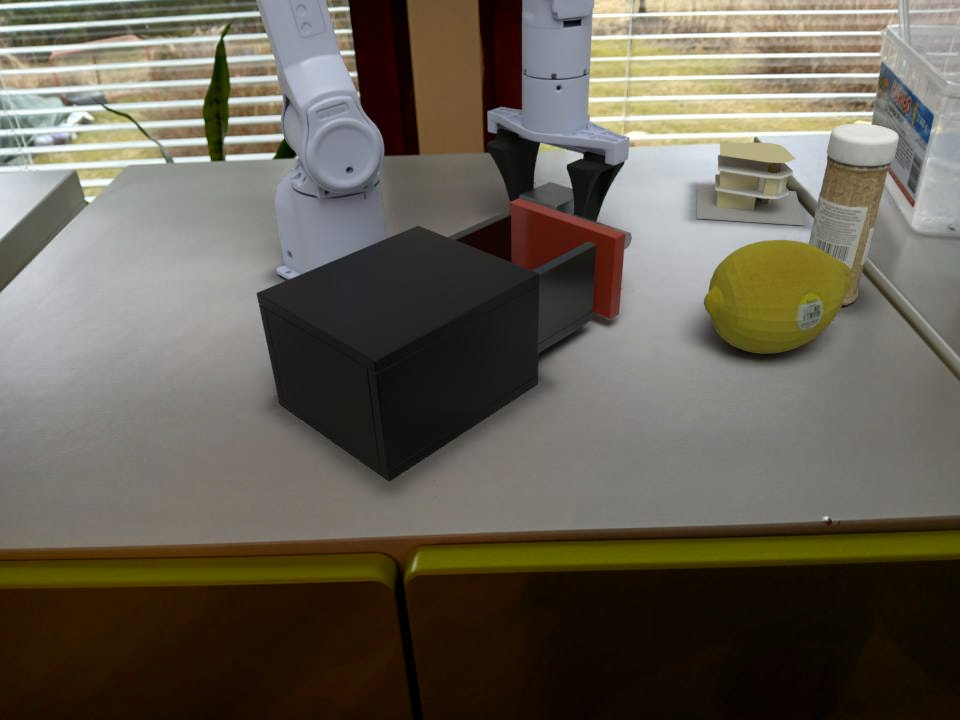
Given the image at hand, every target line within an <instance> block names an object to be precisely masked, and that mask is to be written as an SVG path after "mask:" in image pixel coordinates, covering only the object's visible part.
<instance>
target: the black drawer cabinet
mask: <svg viewBox="0 0 960 720" xmlns="http://www.w3.org/2000/svg"><path fill="white" fill-rule="evenodd" d="M448 237H449V236H445V235H443V234H440V233H438V232H436V231H433V230H431V229H428V228H425V227H423V226H420V225H415V226H413V227H411V228H409V229H406V230H404V231H402V232H399V233H396V234H394V235H392V236H389V237H387V239H385V240H382V241H380V242H377V243H375V244H373V245H370V246H368V247H365V248H363V249H361V250H358V251H356V252H353V253H351V254H349V255H346V256H344V257H341V258H339V259H337V260H334V261H332V262H329V263H327V264H325V265H322V266H320V267H318V268H315V269H313V270H310V271H308V272H306V273H303V274H301V275H298V276H296V277H294V278H291V279H289V280H288V279H286V280H284V281H281V282H279V283H277V284H274V285H272V286H270V287H267V288H265V289H262V290H260V291H258V292H256V298H257V303H258V307H259V313H260V317H261V322H262V327H263V331H264V336H265V340H266V341H265V342H266V346H267V352H268V356H269V361H270V364H271V370H272V375H273V380H274V385H275V391H276V394H277V400H278V404H279V405H280V406H282V407H283V408H285V409H286V410H288V411H289V412H290V413H292V414H293V415H295V416H296V417H298V418H299V419H300V420H301V421H303V422H304V423H306V424H307V425H309V427H312V428H313V429H314V430H316V431H318V432H319V433H320V434H321V435H323V436H325V437H326V438H327V439H329V440H330V441H332V442H333V443H335V444H336V445H337V446H339V447H340V448H341V449H343V450H344V451H346V452H347V453H348V454H350V455H351V456H353V457H354V458H356V459H357V460H358V461H360V462H362V463H363V464H364V465H366V466H367V467H369V468H370V469H371V470H372V471H374V472H376V473H377V474H379V475H380V476H381V477H383V478H384V479H385V480H387V481H389V482H390V481H392V480H393V479H395V478H396V477H398V476H399V475H401V474H403V473H404V472H405V471H407V470H408V469H410V468H412V467H413V466H414V465H416V464H418V463H419V462H420V461H423V460H424V459H425V458H427V457H428V456H430V455H432V454H433V453H434V452H436V451H437V450H439V449H441V448H442V447H443V446H446V445H447V444H448V443H450V442H451V441H453V440H454V439H456V438H457V437H459V436H461V435H462V434H464V433H465V432H467V431H468V430H470V429H471V428H472V427H474V426H476V425H478V423H480V422H481V421H483V420H486V419H487V418H488V417H490V416H491V415H492V414H494V413H496V412H497V411H498V410H500V409H502V408H504V407H505V406H506V405H508V404H509V403H511V402H512V401H513V400H515V399H517V398H518V397H520V396H521V395H523V394H525V393H526V392H527V391H529V390H531V389H532V388H534V387H536V386H537V385H538V383H539V353H538V343H539V280H540V274H539V273H537V272H534V271H532V270H529V269H527V268H524V267H521V266H519V265H516V264H514V263H511V262H509V261H506V260H504V259H501V258H499V257H496V256H494V255H491V254H489V253H486V252H484V251H481V250H479V249H476V248H473V247H471V246H468V245H466V244H463V243H461V242H458V241H456V240H453V239H451V238H448Z"/></svg>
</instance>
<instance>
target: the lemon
mask: <svg viewBox="0 0 960 720" xmlns="http://www.w3.org/2000/svg"><path fill="white" fill-rule="evenodd" d="M851 281H852V277H851V270H850V268H849V267H848V266H847V265H846V264H845V263H843V262H841V261H839V260H837V259H835V258H834V257H832V256H831V255H829V254H828V253H826V252H824V251H823V250H821V249H819V248H817V247H815V246H813V245H810V244H809V243H806V242H802V241H797V240H792V239H789V240H788V239H771V240H770V239H769V240H762V241H756V242H754V243H749V244H747V245H744V246H741V247H739V248H738V249H736V250H734V251H732V252H731V253H730V254H728V255H727V256H726V257H725V258H724V259H723V260H722V261H721V262H720V263H719V264H718V265H717V267H716V268H715V269H714V271H713V274H712V277H711V278H710V280H709V286H708V292H707V293H706V294H705V296H704V298H703V306H704V309H705V311H706V313H708V315H709V317H710V319H711V322H712V325H713V327H714V330H715V331H716V333H717V334H718V336H719V337H720V338H721V339H722V340H723V341H725V342H726V343H728V344H729V345H730V346H732V347H735V348H737V349H739V350H742V351H745V352H749V353H753V354H763V355H766V354H769V355H770V354H778V353H785V352H788V351H793V350H795V349H798V348H799V347H800V348H801V347H802V346H805V345H806V344H808V343H810V342H811V341H812V340H814V339H815V338H817V337H818V336H819V335H820V334H822V333H823V332H824V331H825V330H826V329H827V328H828V327H829V326H830V325H831V323H832V322H833V321H834V320H835V318H836V317H837V315H838V314H839V312H840V311H841V309H842V307H843V305H842V302H843V299H844V297H845V295H846V294H847V292H848V291H849V289H850V287H851Z"/></svg>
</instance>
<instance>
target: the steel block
mask: <svg viewBox="0 0 960 720" xmlns="http://www.w3.org/2000/svg"><path fill="white" fill-rule="evenodd" d="M519 198H520V199H523V200H526V201H529V202H532V203H535V204H538V205H541V206H544V207H547V208H550V209H553V210H556V211H559V212H562V213H566V214H567V213H571V214H574V198H573V191H572V187H569V186H565V185H562V184H559V183H555V182H553V181H549V182H546V183H544V184H542V185H539V186H537V187H534V189H532V190H530V191H527V192H525V193H523V194H520V196H519Z"/></svg>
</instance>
